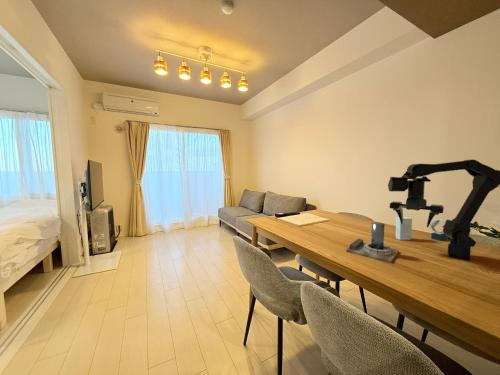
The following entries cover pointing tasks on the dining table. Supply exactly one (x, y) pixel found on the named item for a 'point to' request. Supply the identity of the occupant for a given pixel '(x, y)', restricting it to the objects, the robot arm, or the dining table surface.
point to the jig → (372, 251)
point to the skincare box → (404, 228)
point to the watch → (436, 234)
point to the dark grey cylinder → (377, 236)
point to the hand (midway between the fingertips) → (414, 225)
